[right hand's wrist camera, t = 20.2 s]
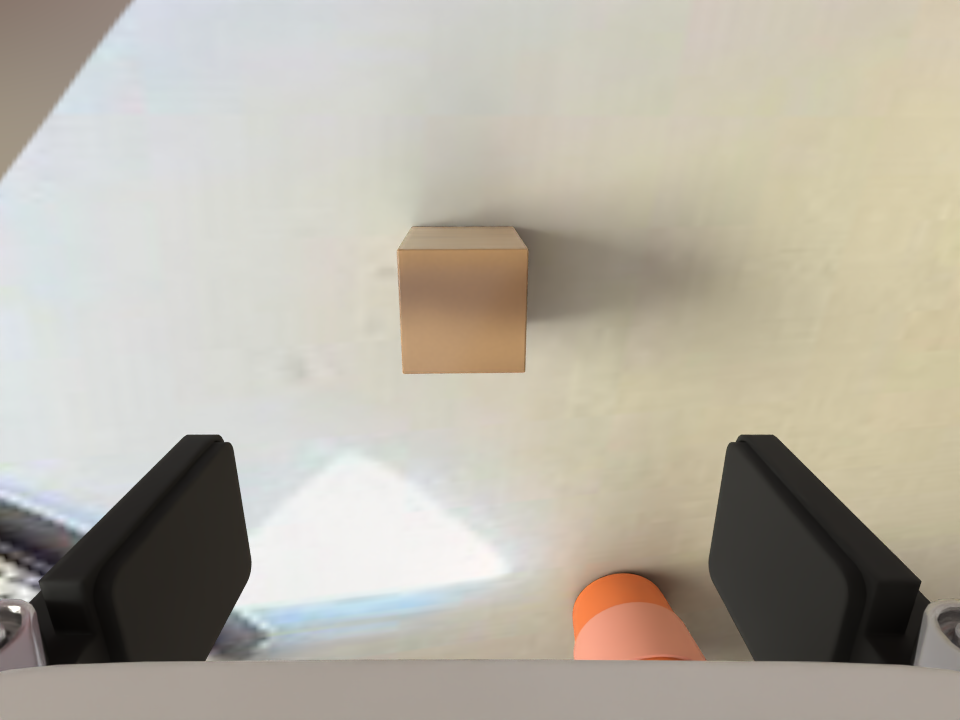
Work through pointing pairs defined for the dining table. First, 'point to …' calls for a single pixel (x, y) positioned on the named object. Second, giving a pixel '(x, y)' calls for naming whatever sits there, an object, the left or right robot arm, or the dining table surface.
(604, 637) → the cup with straw
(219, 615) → the right robot arm
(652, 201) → the dining table surface
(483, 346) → the wooden block
